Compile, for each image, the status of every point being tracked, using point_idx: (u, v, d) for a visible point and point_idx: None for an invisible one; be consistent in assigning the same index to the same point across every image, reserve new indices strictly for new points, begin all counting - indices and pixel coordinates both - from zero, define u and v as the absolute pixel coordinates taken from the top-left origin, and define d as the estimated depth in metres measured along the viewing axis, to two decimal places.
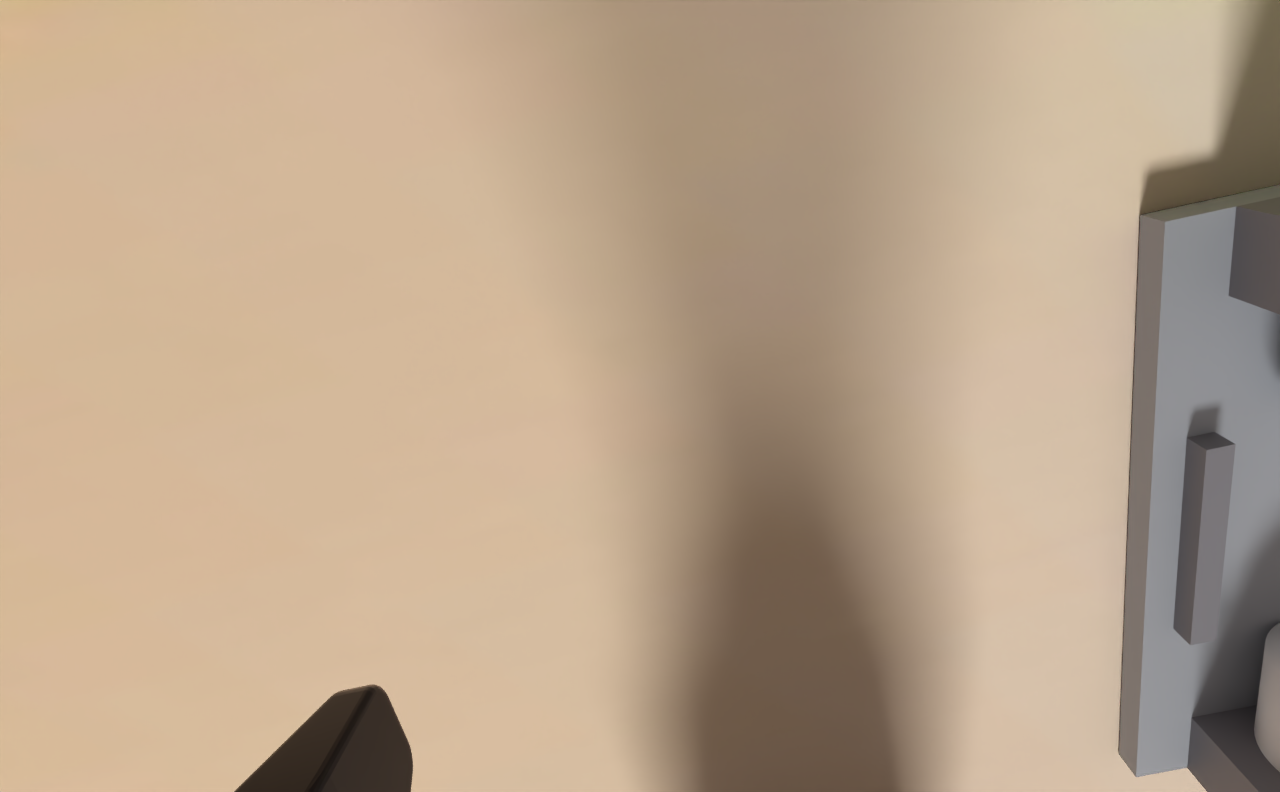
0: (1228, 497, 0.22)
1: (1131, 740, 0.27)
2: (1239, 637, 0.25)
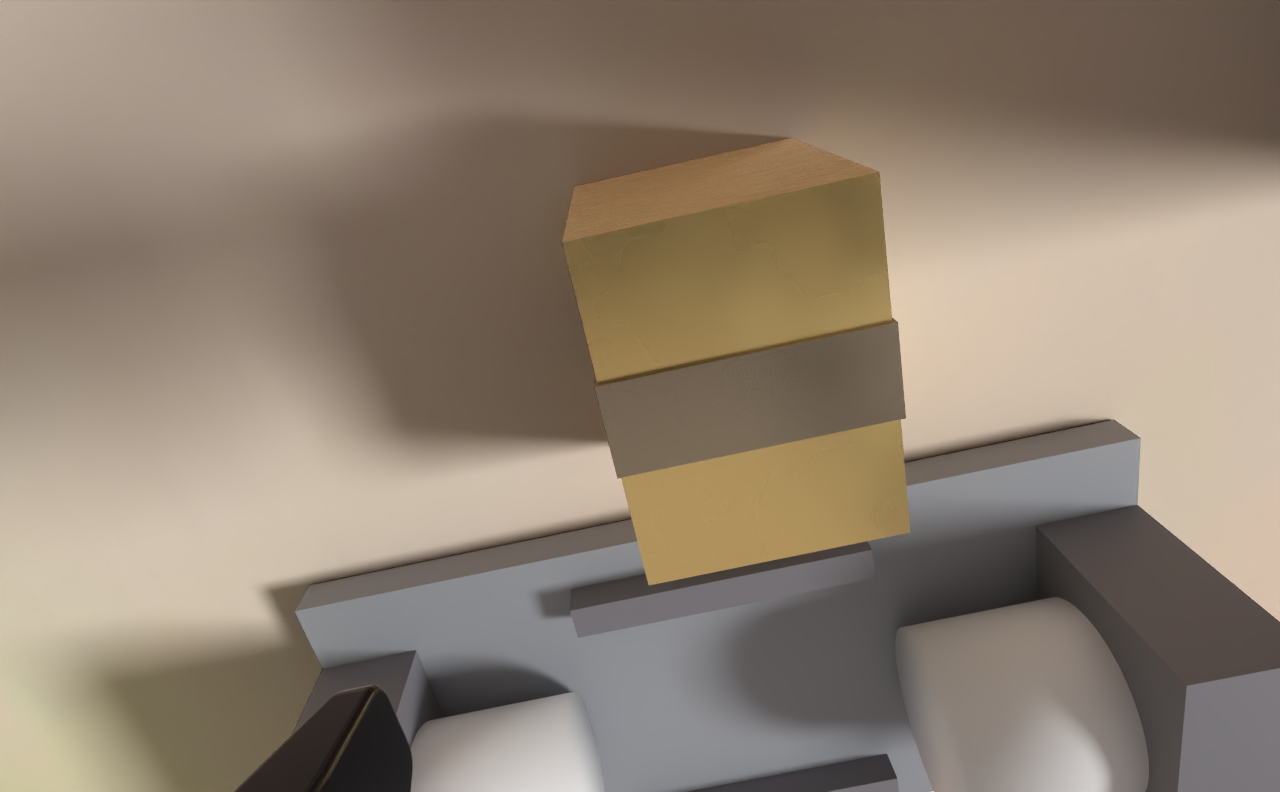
0: None
1: None
2: None
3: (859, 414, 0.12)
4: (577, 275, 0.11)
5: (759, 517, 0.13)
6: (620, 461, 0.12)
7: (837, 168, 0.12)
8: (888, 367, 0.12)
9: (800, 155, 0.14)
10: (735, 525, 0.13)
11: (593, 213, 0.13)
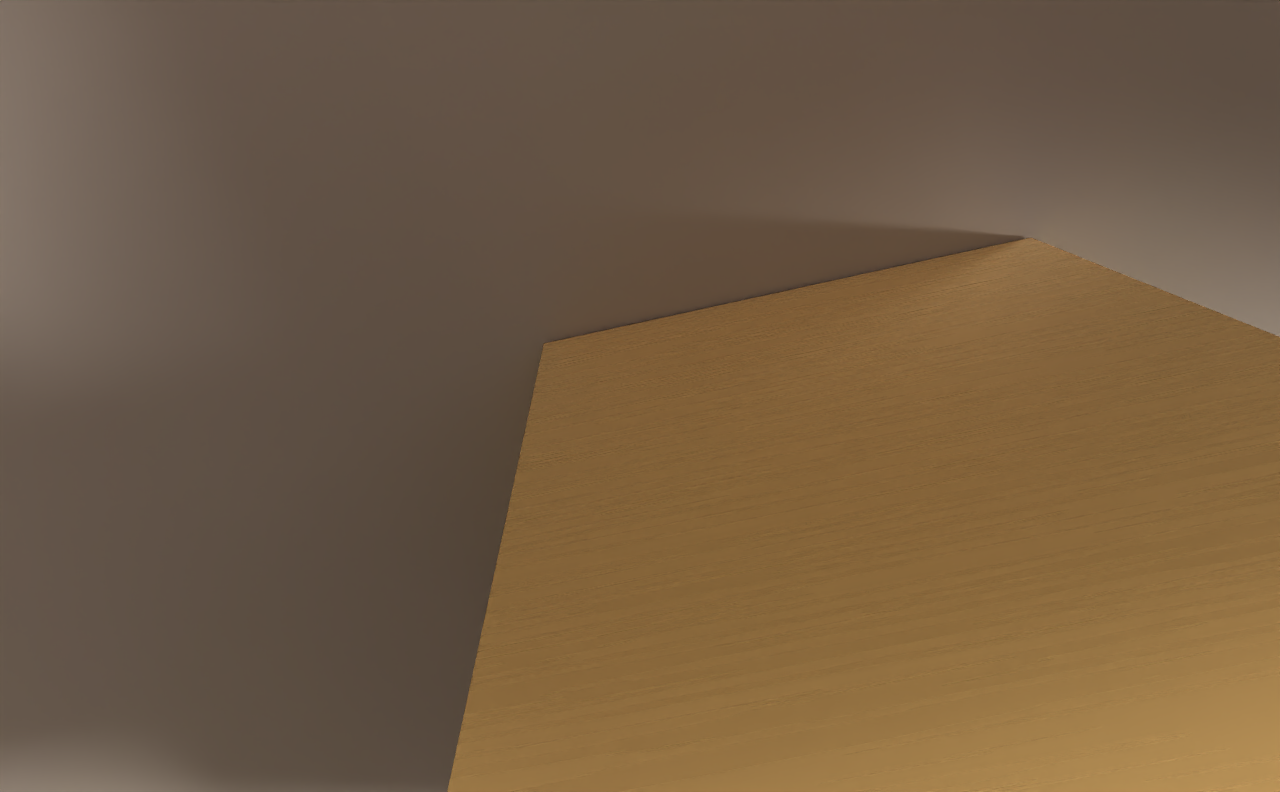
0: None
1: None
2: None
3: None
4: None
5: None
6: None
7: None
8: None
9: (1178, 337, 0.05)
10: None
11: (578, 573, 0.04)
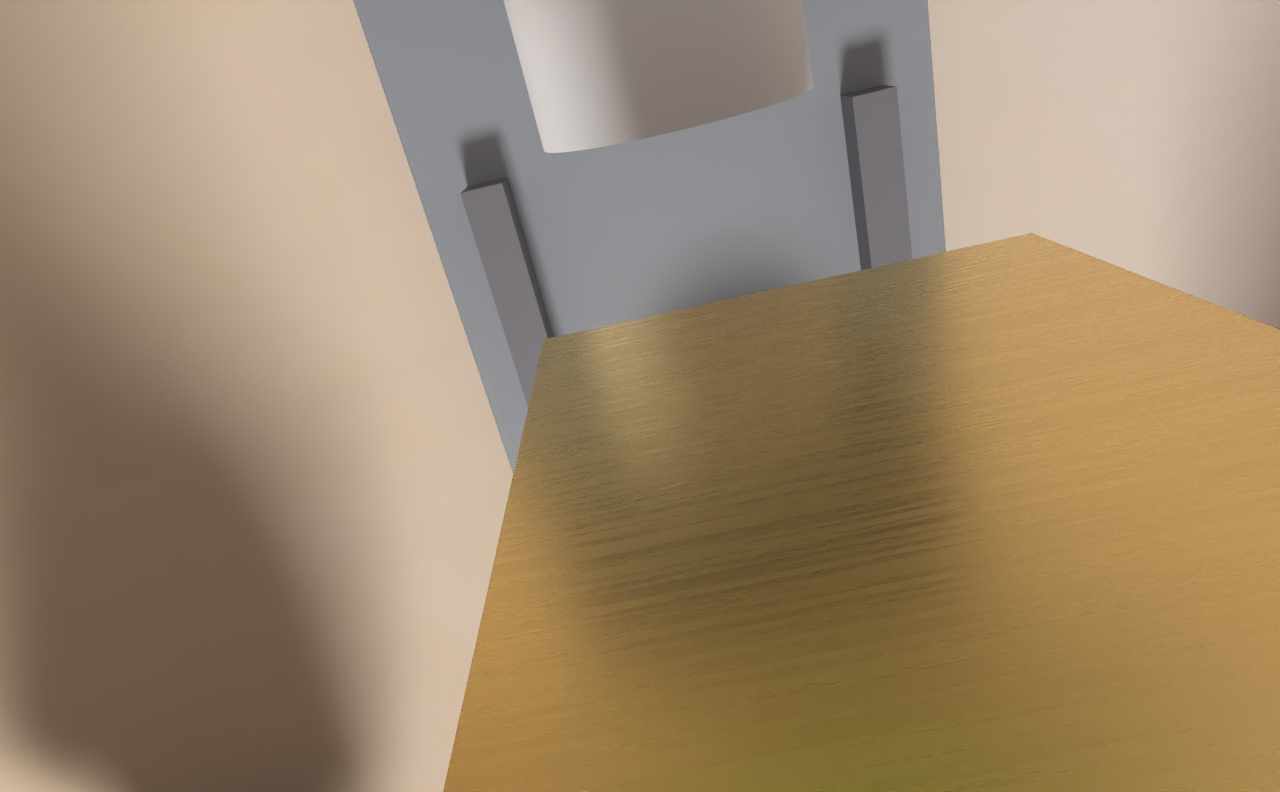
0: (525, 273, 0.15)
1: None
2: None
3: None
4: None
5: None
6: None
7: None
8: None
9: (1180, 331, 0.05)
10: None
11: (576, 567, 0.04)
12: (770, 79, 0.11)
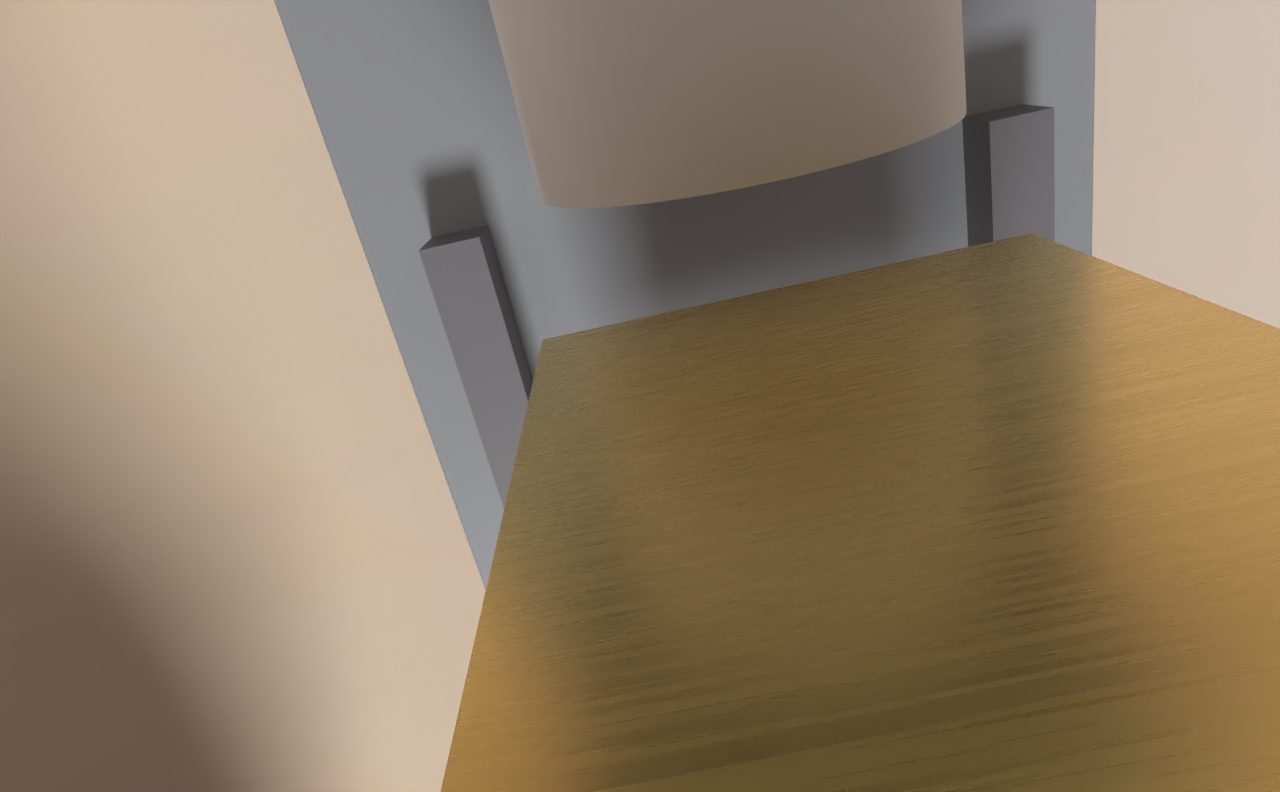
0: (512, 362, 0.11)
1: None
2: None
3: None
4: None
5: None
6: None
7: None
8: None
9: (1182, 331, 0.05)
10: None
11: (575, 568, 0.04)
12: (921, 97, 0.06)
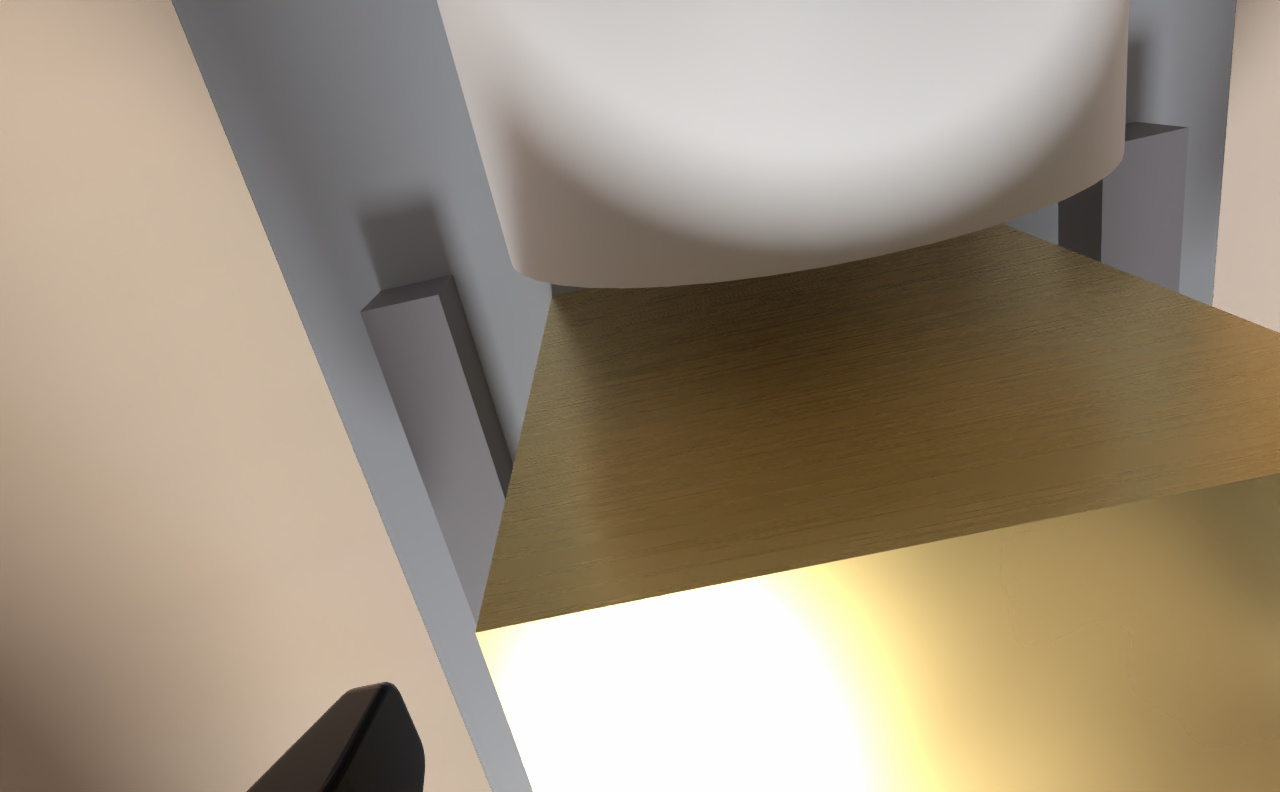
0: (483, 449, 0.08)
1: None
2: None
3: None
4: (527, 714, 0.04)
5: None
6: None
7: (1259, 360, 0.04)
8: None
9: (1050, 273, 0.06)
10: None
11: (582, 435, 0.05)
12: (1087, 125, 0.04)
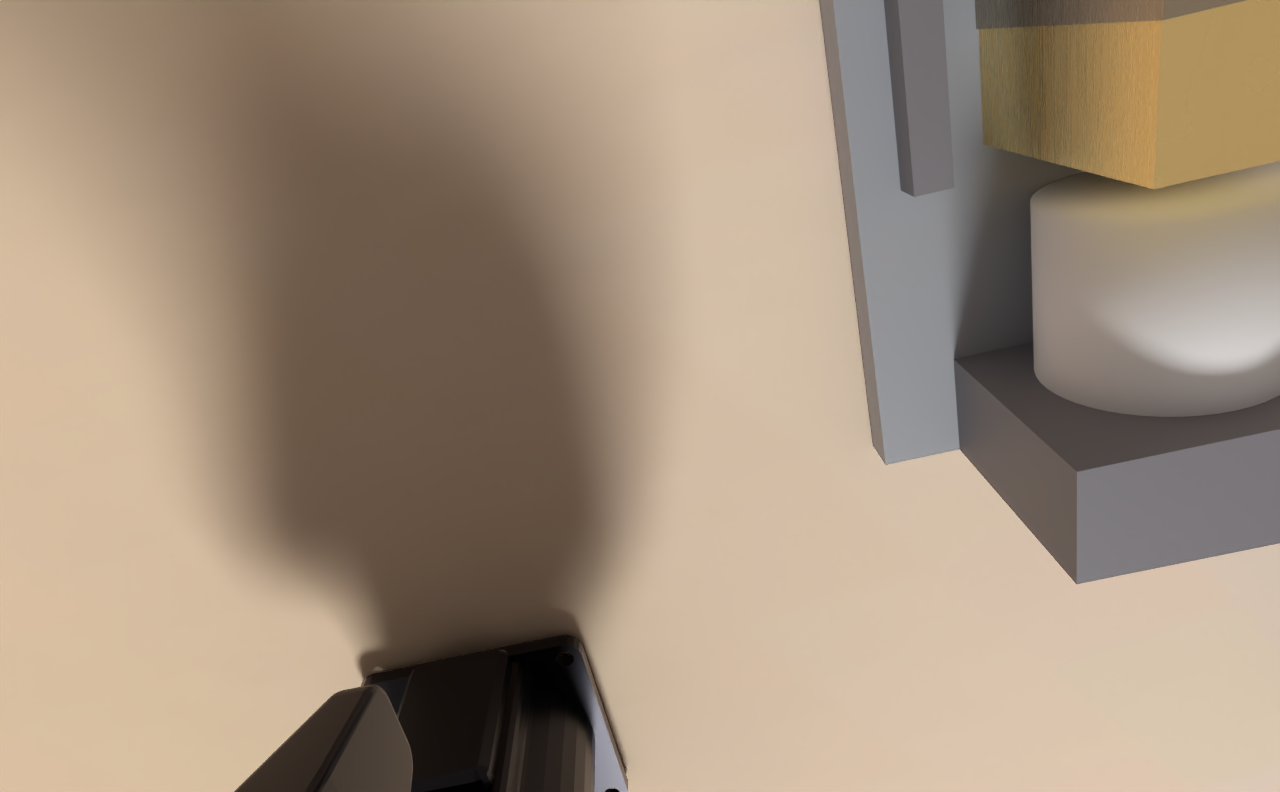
0: None
1: (875, 407, 0.19)
2: (1006, 208, 0.17)
3: None
4: None
5: None
6: None
7: None
8: None
9: None
10: (1279, 100, 0.11)
11: None
12: None
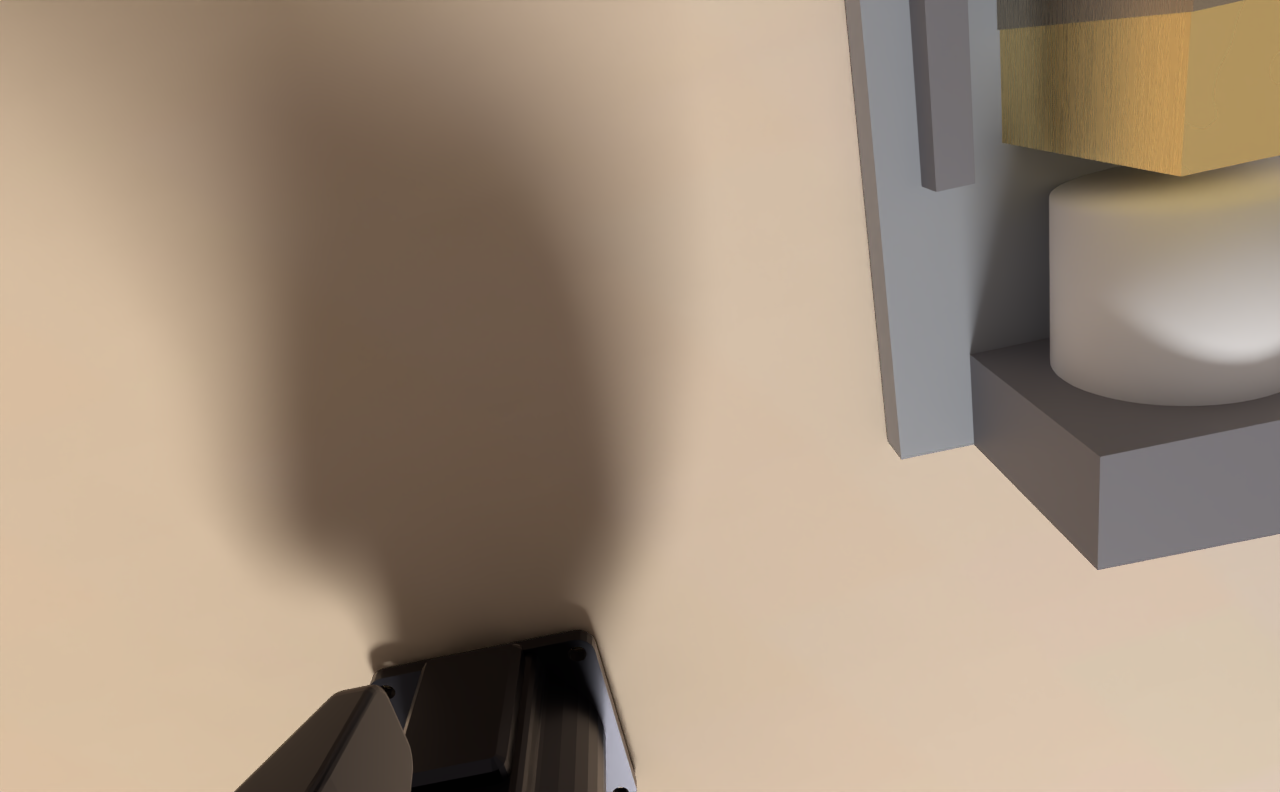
0: None
1: (891, 402, 0.19)
2: (1024, 206, 0.17)
3: None
4: None
5: None
6: None
7: None
8: None
9: None
10: None
11: None
12: None
